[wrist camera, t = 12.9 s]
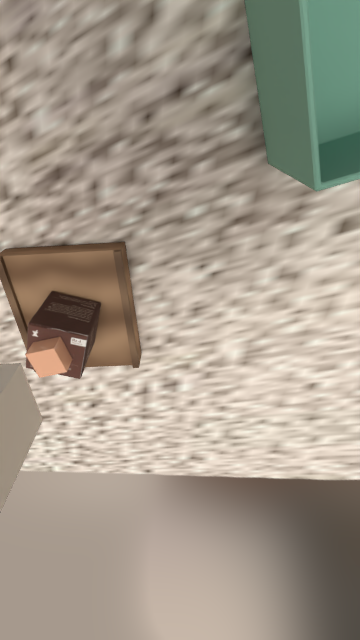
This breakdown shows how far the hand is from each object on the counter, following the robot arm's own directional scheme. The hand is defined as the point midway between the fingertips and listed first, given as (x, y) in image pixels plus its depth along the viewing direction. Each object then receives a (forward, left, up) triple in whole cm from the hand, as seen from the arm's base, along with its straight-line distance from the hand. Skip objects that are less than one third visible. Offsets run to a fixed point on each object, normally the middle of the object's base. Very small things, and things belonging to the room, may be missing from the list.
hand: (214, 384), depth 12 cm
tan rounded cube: (+12, -15, -19) cm, 27 cm away
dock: (+12, -15, -29) cm, 35 cm away
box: (+12, -15, -26) cm, 33 cm away
